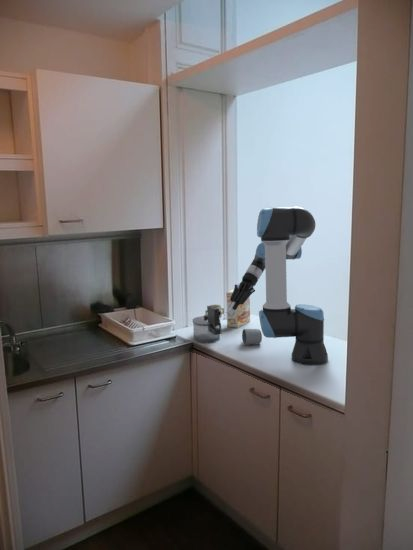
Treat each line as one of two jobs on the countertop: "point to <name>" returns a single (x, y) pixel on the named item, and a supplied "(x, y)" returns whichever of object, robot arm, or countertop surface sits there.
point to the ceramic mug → (251, 336)
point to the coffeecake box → (238, 312)
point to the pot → (206, 333)
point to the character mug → (219, 312)
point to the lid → (208, 317)
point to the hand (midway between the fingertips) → (228, 314)
